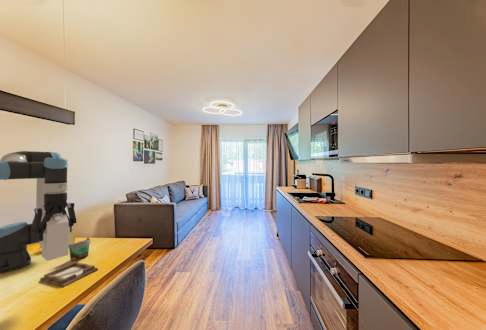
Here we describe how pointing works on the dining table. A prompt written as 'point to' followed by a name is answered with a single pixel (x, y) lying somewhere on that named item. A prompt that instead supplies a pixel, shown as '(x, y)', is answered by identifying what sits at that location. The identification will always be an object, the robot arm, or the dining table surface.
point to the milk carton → (56, 237)
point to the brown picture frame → (69, 274)
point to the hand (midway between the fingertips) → (55, 244)
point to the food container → (79, 250)
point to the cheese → (72, 238)
